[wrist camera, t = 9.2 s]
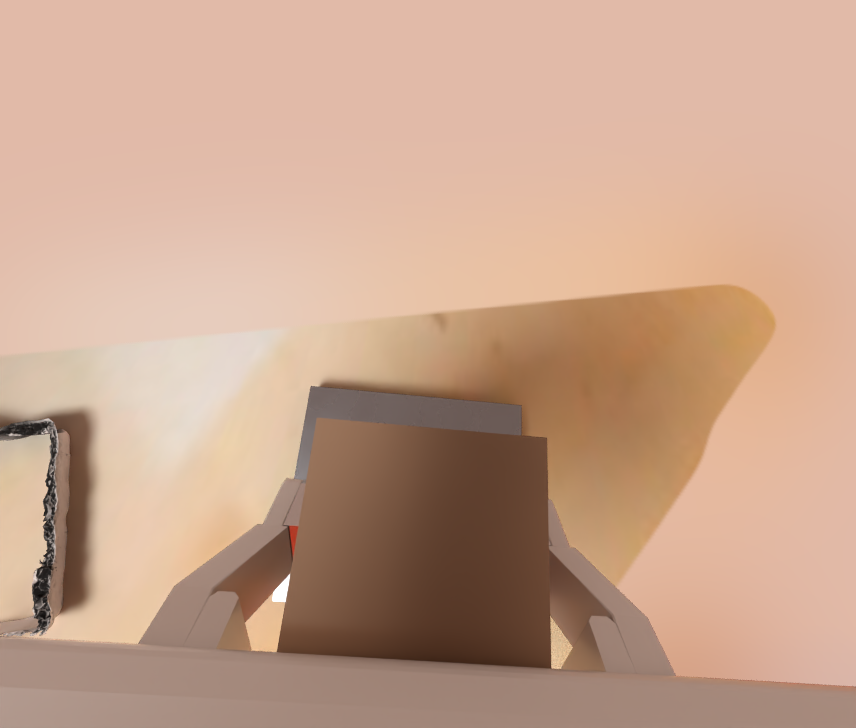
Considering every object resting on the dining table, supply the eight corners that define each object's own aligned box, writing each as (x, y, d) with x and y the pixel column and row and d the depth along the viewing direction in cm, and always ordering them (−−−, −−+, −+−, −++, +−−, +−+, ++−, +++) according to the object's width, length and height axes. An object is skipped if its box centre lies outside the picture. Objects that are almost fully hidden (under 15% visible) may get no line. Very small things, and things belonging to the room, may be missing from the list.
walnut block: (346, 569, 15) (267, 707, 6) (362, 446, 16) (316, 417, 8) (466, 578, 15) (552, 722, 6) (471, 455, 16) (546, 437, 8)
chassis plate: (280, 593, 24) (249, 623, 19) (315, 390, 28) (297, 373, 23) (514, 609, 25) (540, 642, 20) (515, 408, 29) (538, 396, 24)
